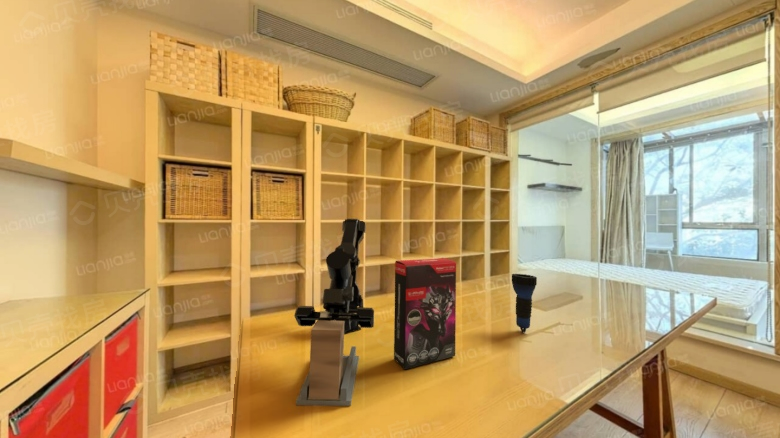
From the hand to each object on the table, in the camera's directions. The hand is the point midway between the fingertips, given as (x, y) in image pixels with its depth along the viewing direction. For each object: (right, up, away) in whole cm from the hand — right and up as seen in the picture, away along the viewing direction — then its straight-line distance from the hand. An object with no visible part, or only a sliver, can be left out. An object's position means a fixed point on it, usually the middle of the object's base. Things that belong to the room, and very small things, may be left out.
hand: (330, 353), depth 59 cm
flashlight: (+60, -10, +35) cm, 70 cm away
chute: (0, -8, +4) cm, 9 cm away
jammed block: (0, -7, -3) cm, 7 cm away
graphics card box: (+23, -9, +15) cm, 29 cm away
